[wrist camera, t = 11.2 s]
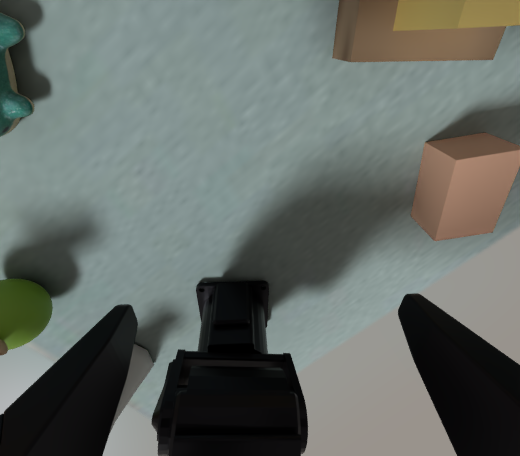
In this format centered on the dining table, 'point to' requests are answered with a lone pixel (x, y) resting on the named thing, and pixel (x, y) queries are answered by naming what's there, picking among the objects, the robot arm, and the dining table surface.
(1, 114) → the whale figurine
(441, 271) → the dining table surface
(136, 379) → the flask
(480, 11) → the mustard brick
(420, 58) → the walnut block
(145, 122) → the dining table surface
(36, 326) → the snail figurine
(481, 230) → the terracotta brick
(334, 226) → the dining table surface
